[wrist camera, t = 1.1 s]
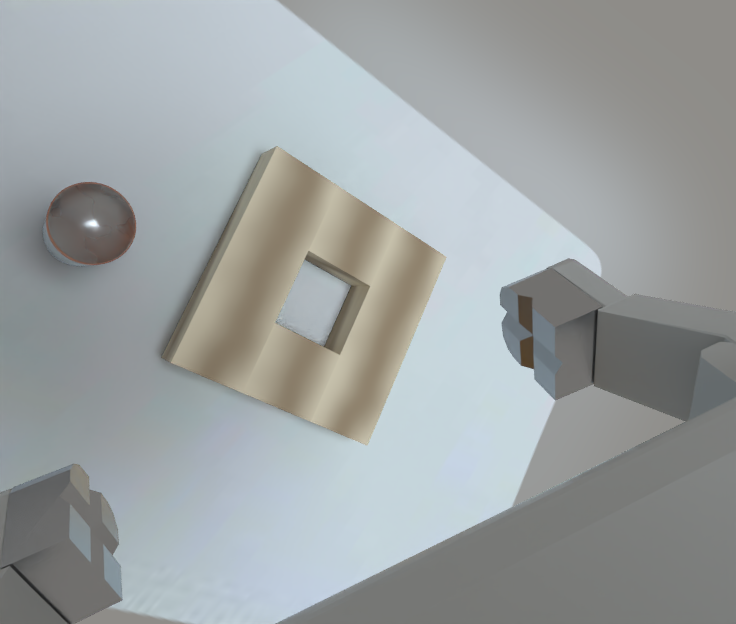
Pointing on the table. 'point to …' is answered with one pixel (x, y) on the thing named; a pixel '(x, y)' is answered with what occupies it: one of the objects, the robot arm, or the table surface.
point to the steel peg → (89, 225)
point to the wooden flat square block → (272, 285)
